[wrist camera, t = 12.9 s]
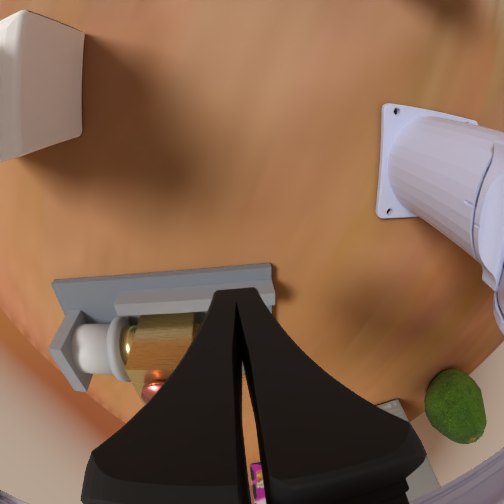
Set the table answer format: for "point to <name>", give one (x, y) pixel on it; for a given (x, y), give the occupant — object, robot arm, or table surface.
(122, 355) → the valve
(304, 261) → the table surface
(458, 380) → the avocado
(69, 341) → the grey piece
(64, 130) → the medicine bottle
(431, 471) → the skincare box
